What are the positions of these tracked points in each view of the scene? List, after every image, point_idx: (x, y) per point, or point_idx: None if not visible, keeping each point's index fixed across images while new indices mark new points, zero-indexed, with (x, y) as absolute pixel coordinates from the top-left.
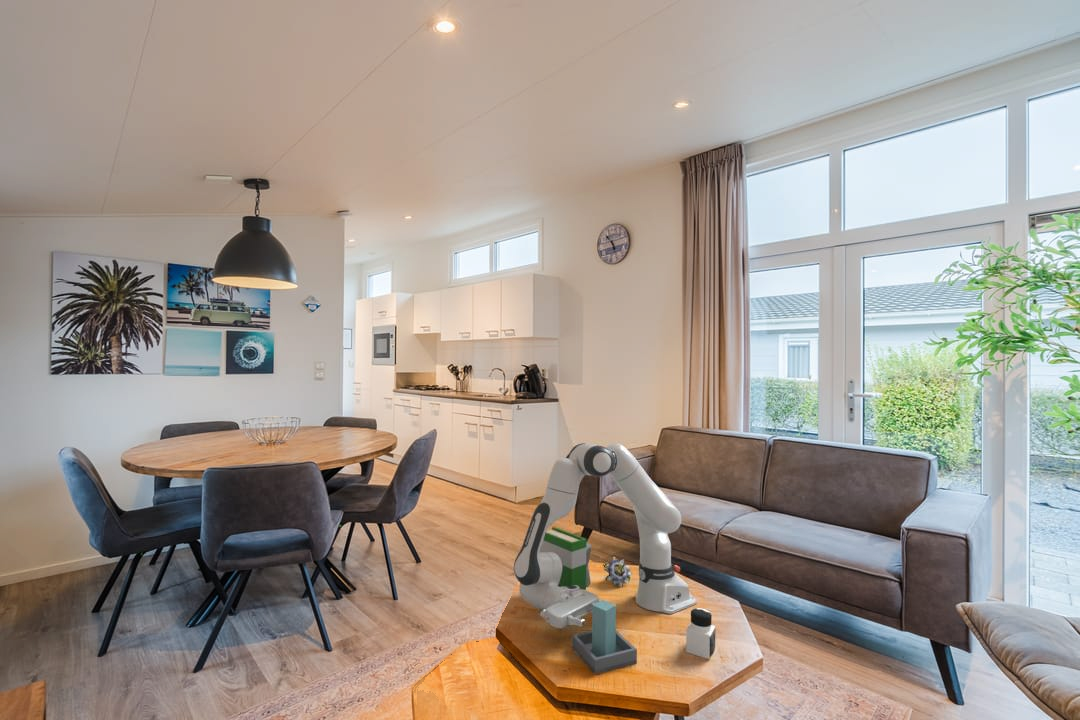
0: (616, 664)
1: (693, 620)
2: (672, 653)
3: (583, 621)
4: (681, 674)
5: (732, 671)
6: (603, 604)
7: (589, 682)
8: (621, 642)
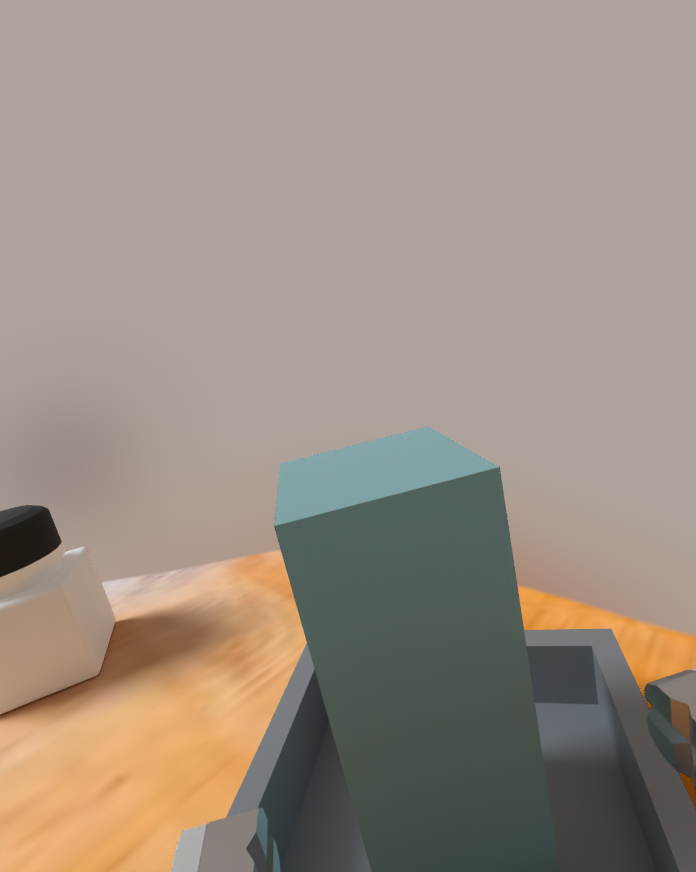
0: None
1: (39, 542)
2: (135, 692)
3: (664, 680)
4: (259, 598)
5: (150, 576)
6: (365, 471)
7: (674, 665)
8: (285, 781)
